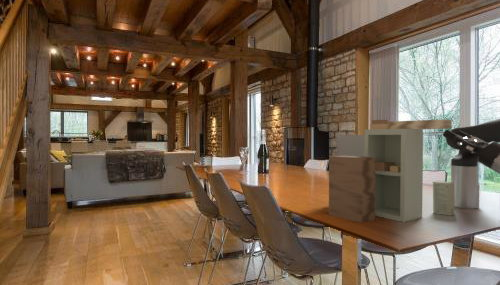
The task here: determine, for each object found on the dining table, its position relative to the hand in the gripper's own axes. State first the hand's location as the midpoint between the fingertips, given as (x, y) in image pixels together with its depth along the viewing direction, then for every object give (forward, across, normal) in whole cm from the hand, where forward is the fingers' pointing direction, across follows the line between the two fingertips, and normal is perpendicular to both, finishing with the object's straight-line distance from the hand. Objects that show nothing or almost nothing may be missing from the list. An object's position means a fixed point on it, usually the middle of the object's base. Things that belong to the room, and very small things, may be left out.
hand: (450, 132), depth 107 cm
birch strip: (+12, 0, +6) cm, 14 cm away
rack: (+1, +3, +36) cm, 36 cm away
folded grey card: (+17, 0, +46) cm, 49 cm away
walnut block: (+7, +18, +40) cm, 44 cm away
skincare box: (-8, -16, +31) cm, 36 cm away
